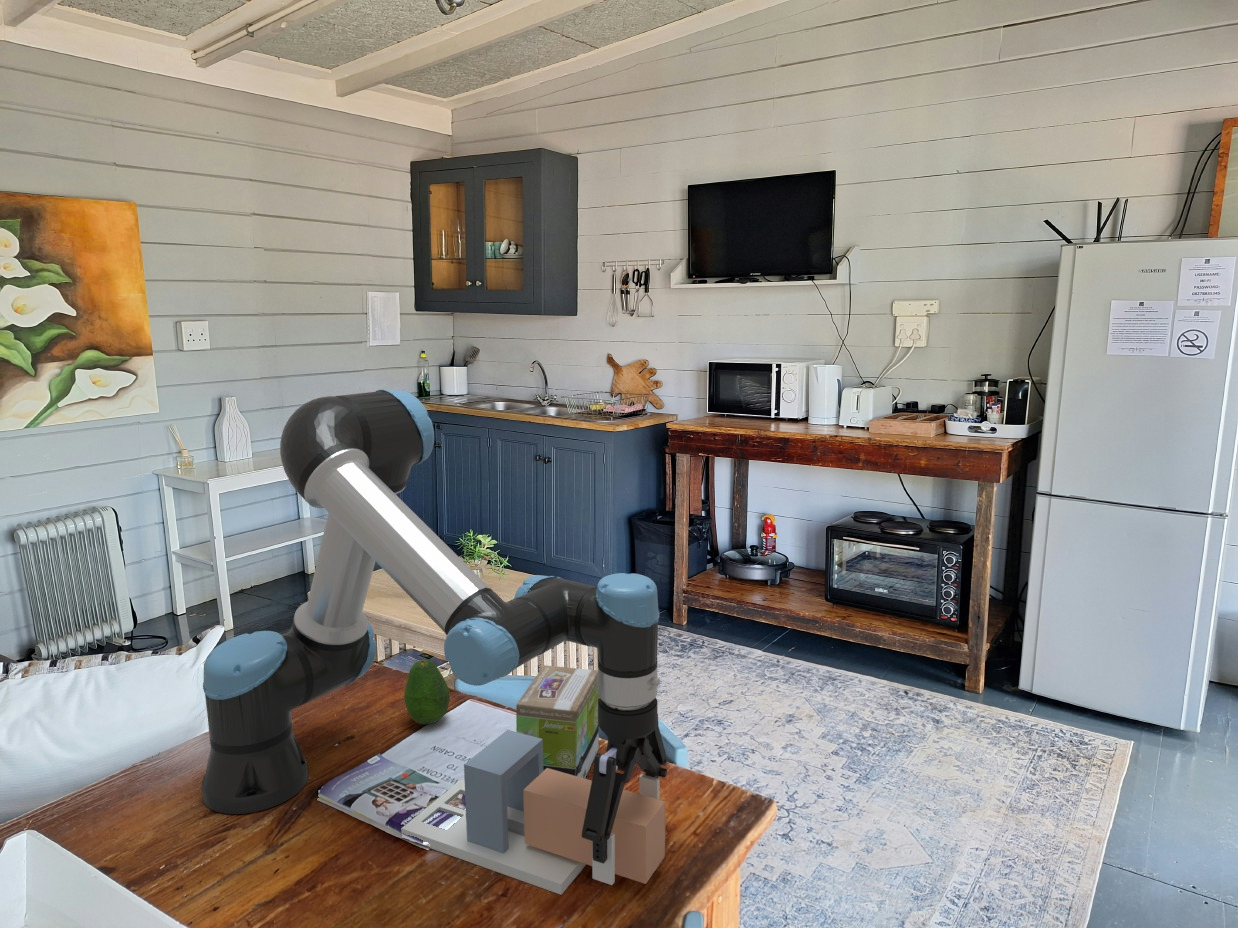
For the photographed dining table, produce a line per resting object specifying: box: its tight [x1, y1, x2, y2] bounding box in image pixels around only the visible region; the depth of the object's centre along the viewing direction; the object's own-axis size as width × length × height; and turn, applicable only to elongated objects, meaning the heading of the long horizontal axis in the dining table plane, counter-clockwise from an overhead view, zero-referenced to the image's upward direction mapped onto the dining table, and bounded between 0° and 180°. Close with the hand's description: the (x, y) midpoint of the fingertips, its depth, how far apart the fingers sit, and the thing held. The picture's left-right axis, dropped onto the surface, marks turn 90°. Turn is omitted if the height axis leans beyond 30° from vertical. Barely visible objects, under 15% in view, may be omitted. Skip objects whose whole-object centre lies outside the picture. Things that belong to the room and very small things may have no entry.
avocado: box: [403, 659, 451, 726], centre depth 149 cm, size 8×8×12 cm
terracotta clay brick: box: [523, 768, 666, 885], centre depth 111 cm, size 18×6×8 cm, turn 63°
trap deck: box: [400, 729, 587, 896], centre depth 117 cm, size 26×14×13 cm, turn 63°
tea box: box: [515, 664, 600, 779], centre depth 134 cm, size 15×10×15 cm
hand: (627, 848), depth 109 cm, fingers open, 13 cm apart
